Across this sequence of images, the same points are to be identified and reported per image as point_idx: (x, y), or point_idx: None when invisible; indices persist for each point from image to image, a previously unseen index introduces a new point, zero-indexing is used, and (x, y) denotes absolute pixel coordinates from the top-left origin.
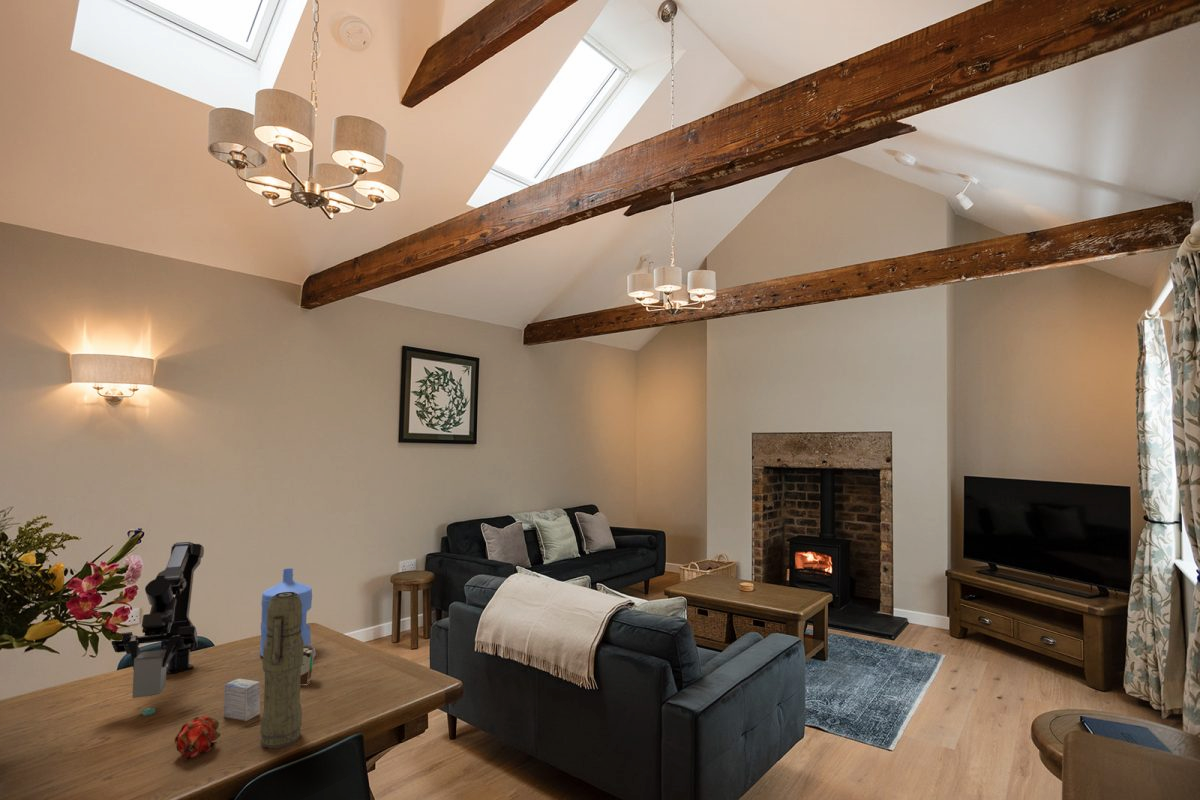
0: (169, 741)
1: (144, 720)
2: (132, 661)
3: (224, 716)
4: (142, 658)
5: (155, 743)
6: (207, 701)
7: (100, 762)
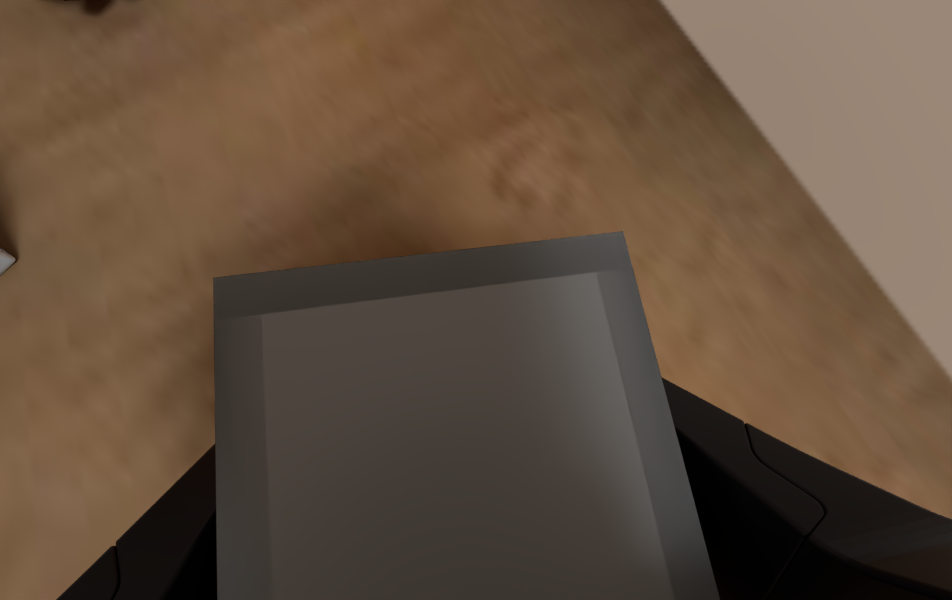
0: (234, 83)
1: None
2: (674, 386)
3: (11, 256)
4: (511, 246)
5: (287, 83)
6: None
7: (432, 6)
